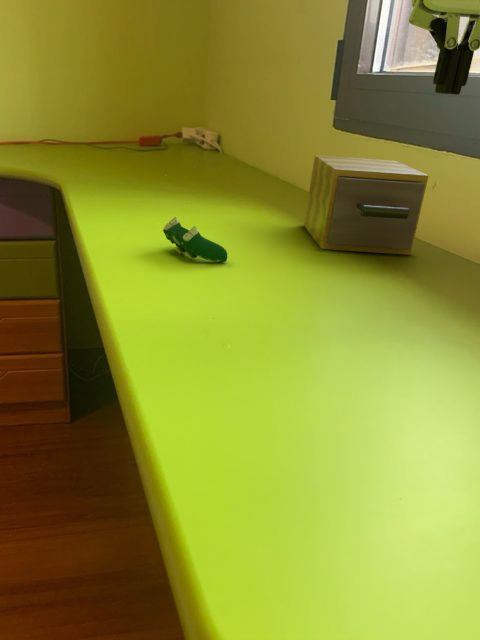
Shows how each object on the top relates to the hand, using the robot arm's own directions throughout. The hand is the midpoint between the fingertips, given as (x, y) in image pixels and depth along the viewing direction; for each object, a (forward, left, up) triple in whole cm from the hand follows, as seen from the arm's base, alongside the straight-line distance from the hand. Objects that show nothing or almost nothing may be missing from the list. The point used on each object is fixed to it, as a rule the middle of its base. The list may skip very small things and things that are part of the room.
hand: (447, 93), depth 72 cm
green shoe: (+25, -9, -21) cm, 34 cm away
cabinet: (0, -26, -21) cm, 33 cm away
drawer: (0, -22, -20) cm, 30 cm away
